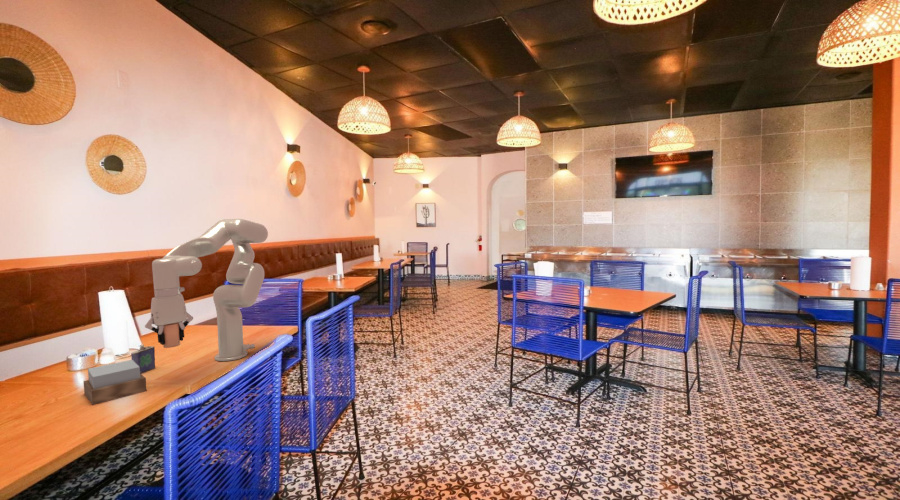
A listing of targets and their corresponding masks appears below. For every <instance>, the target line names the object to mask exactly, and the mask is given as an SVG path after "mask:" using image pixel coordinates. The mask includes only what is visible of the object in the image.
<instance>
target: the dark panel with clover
mask: <svg viewBox="0 0 900 500" xmlns="http://www.w3.org/2000/svg"><path fill="white" fill-rule="evenodd" d="M155 351H156V350H155V346H153V345H148V346H145V345H144V344H140V345H139V349H138V350H135V351H133V352H131V355H130V357H131V360H133V361H134V362H135V363H136V364H137V365H138V366H139V367H140V374H141V375H143V374H145V373H147V372H149V371H152V370H155V369H156V357H155V355H156V354H155Z"/></svg>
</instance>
